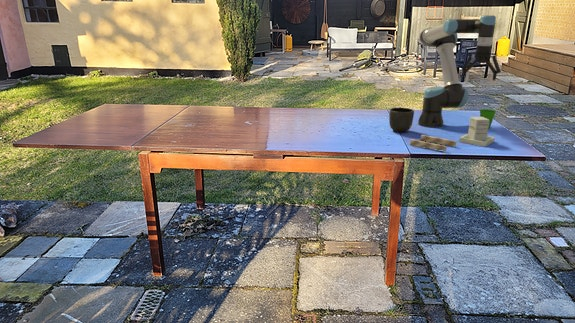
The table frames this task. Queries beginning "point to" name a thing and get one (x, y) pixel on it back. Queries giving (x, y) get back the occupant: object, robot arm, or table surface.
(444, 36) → the robot arm
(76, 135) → the table surface
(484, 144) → the tray
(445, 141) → the open u-shaped frame
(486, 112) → the cup
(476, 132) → the supplement box
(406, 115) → the planter
